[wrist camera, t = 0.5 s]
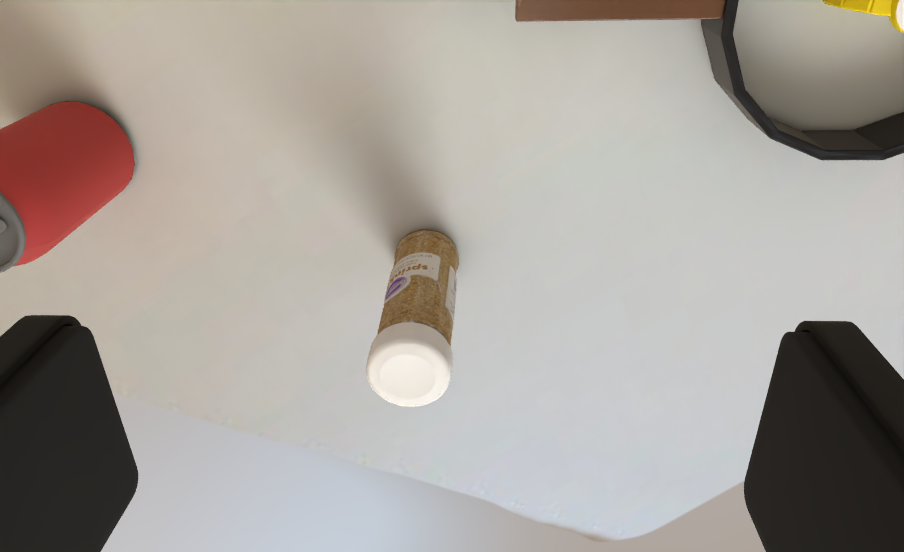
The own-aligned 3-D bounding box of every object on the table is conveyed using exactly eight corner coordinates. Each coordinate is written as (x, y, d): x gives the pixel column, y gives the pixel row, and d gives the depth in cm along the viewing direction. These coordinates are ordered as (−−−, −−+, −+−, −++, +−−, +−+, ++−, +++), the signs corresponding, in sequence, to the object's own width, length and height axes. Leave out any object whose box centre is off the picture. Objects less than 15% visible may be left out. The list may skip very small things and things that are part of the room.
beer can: (150, 193, 46) (51, 282, 35) (57, 196, 46) (-69, 284, 36) (123, 96, 42) (5, 162, 32) (22, 100, 43) (-127, 166, 32)
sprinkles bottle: (415, 216, 46) (391, 327, 34) (472, 249, 47) (467, 367, 35) (382, 265, 48) (349, 386, 36) (438, 296, 49) (423, 423, 37)
